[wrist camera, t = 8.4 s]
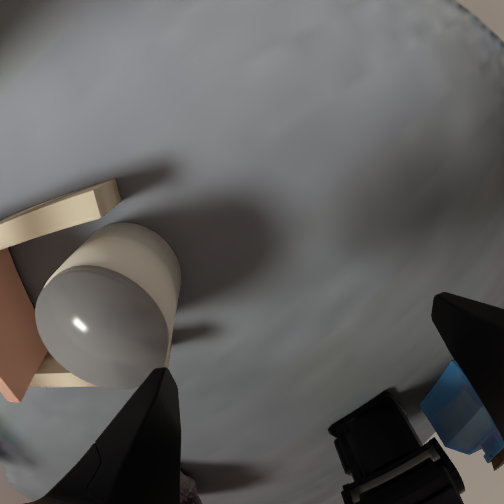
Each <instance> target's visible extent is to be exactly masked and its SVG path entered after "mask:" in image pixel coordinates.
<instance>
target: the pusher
mask: <svg viewBox="0 0 504 504" xmlns="http://www.w3.org/2000/svg"><path fill="white" fill-rule="evenodd" d="M47 352H48V350H47V348H46V347H45V345H44V343H43V341H42V339H41V337H40V335H39V332H38V329H37V325H36V319H35V309H34V307H33V305H32V303H31V301H30V299H29V297H28V295H27V293H26V291H25V288H24V286H23V284H22V282H21V279H20V277H19V275H18V272H17V270H16V268H15V265H14V263H13V260H12V257H11V255H10V252H9V250H8V247H7V248H5V249H2V250H0V392H1V393H2V394H3V396H4V397H5V398H6V399H7V401H8V402H17V403H21V401H22V399H23V397H24V395H25V393H26V391H27V389H28V387H29V385H30V383H31V381H32V379H33V377H34V375H35V373H36V372H37V370H38V368H39V366H40V364H41V362H42V361H43V359H44V357H45V355H46V354H47Z"/></svg>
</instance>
